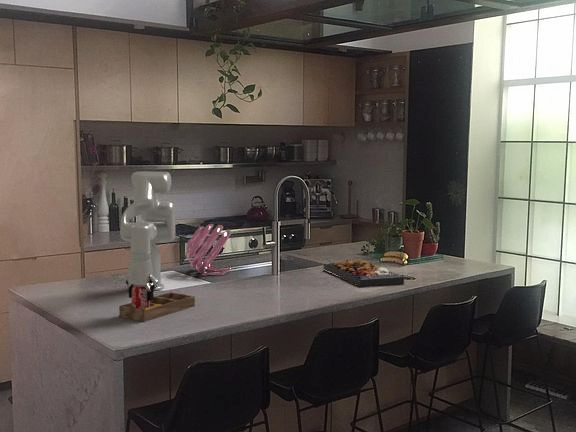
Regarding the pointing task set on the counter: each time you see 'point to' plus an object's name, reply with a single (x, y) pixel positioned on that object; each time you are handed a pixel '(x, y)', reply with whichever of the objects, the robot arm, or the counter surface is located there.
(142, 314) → the rack
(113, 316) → the counter surface
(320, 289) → the counter surface
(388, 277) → the food platter
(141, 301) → the soda can
